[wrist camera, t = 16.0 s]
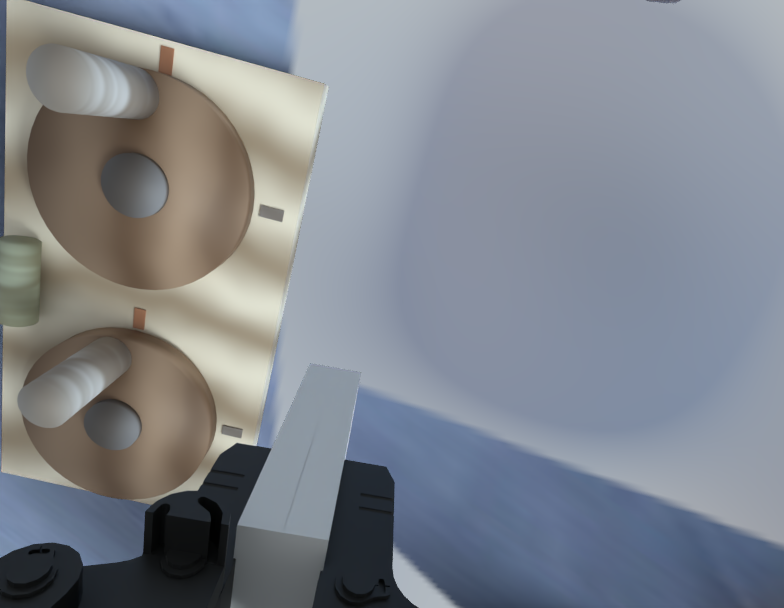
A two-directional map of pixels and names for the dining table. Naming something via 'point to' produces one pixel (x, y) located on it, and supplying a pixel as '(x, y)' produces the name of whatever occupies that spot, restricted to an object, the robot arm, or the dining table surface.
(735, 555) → the dining table surface
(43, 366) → the dial
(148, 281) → the dial
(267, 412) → the dining table surface
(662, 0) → the crystal cluster
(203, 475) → the base
